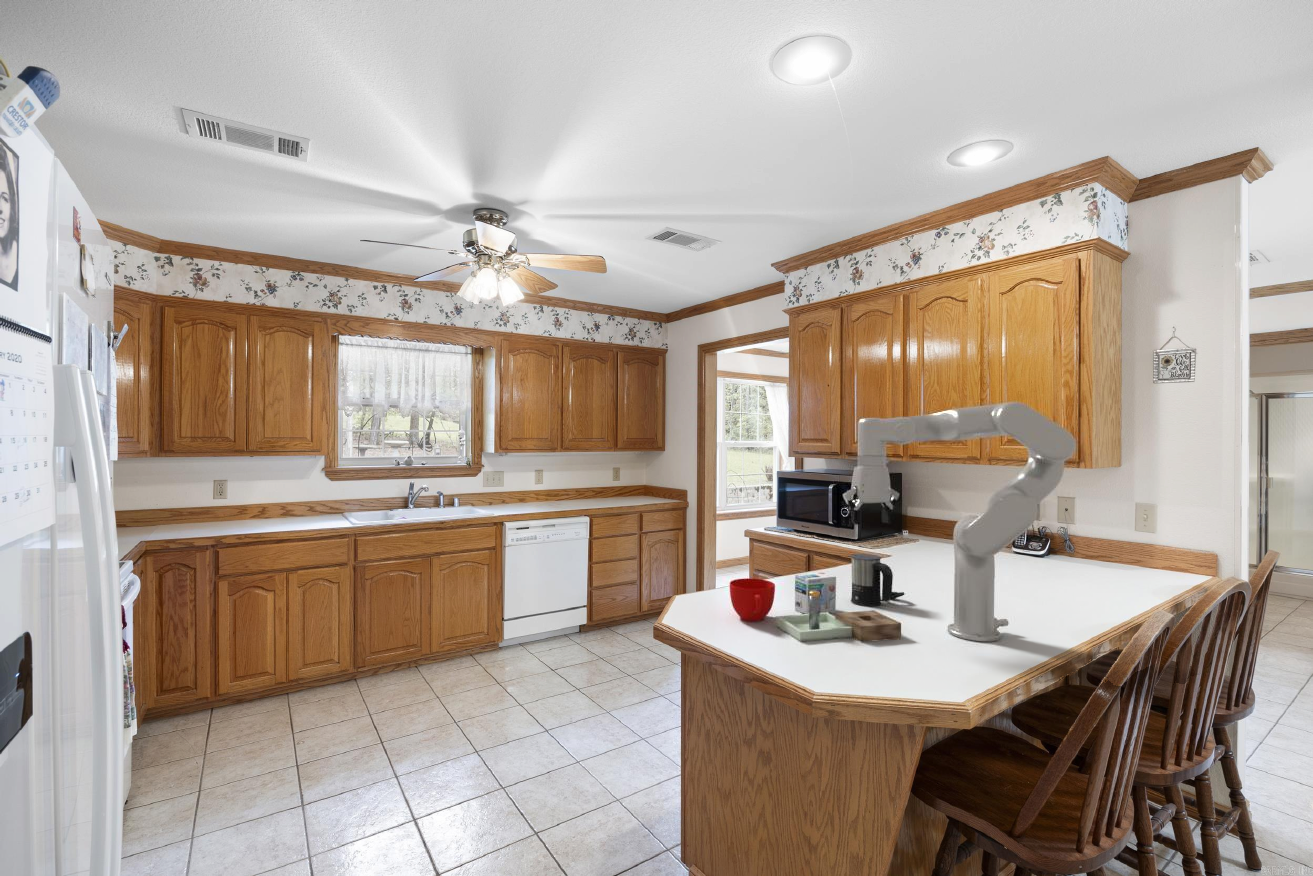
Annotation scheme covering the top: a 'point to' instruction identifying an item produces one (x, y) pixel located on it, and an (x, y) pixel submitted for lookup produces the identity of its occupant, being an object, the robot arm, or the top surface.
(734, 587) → the ceramic cup
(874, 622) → the block
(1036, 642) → the top surface
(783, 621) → the tray
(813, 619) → the pin
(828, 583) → the light bulb box
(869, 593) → the milk frother
